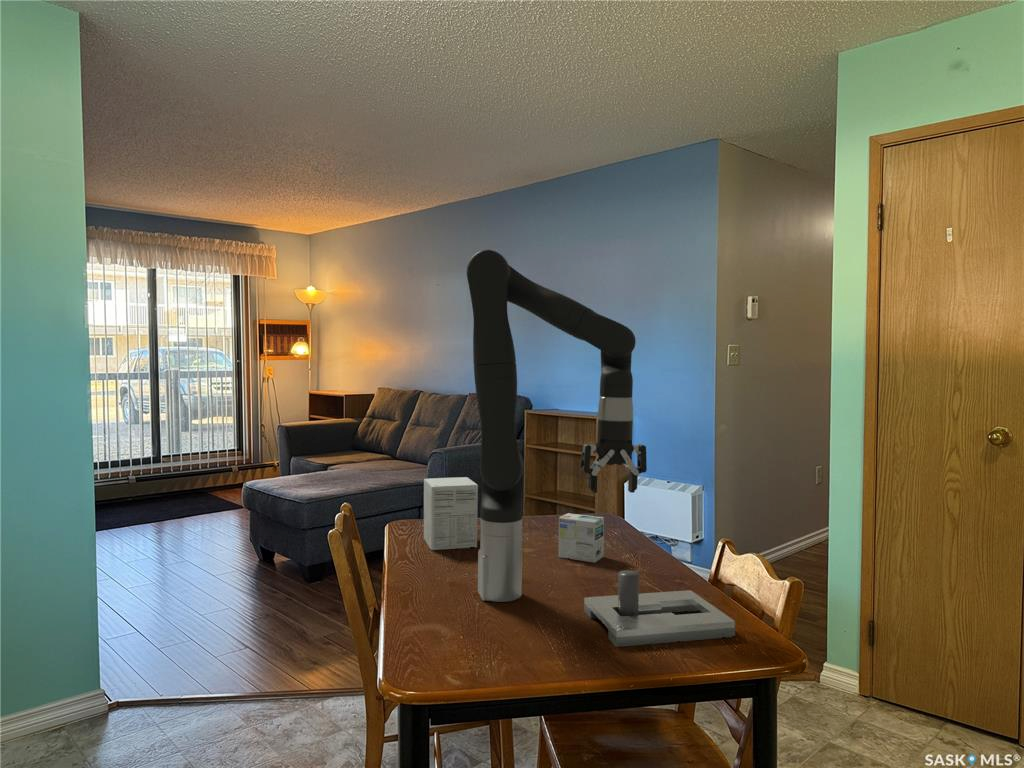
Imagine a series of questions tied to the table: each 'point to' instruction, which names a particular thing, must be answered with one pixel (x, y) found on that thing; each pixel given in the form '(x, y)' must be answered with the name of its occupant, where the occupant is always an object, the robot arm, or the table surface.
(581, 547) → the light bulb box
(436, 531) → the supplement box
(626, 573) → the headed peg
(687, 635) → the keyhole plate
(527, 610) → the table surface
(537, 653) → the table surface
